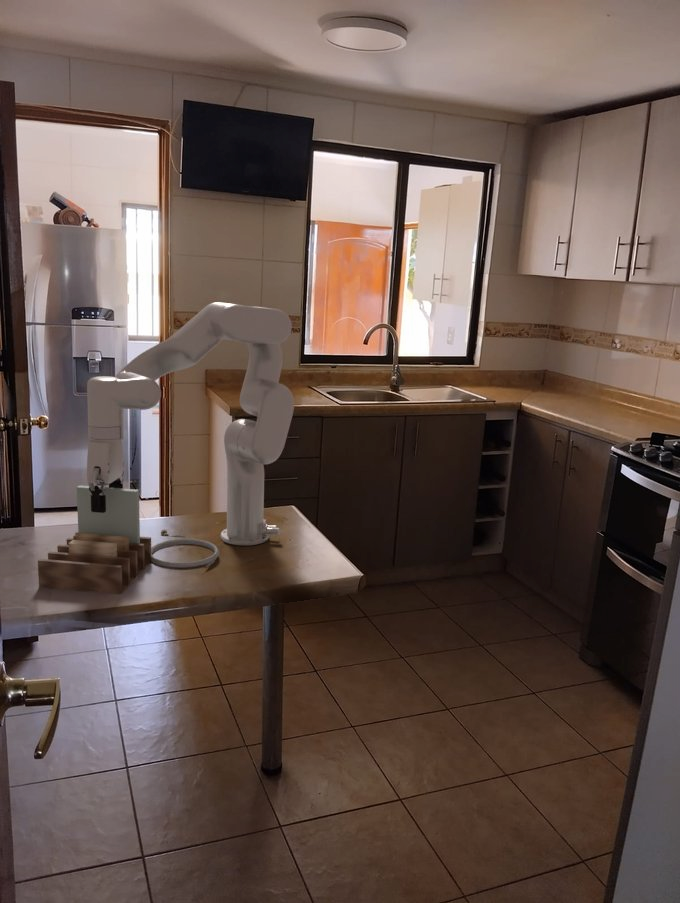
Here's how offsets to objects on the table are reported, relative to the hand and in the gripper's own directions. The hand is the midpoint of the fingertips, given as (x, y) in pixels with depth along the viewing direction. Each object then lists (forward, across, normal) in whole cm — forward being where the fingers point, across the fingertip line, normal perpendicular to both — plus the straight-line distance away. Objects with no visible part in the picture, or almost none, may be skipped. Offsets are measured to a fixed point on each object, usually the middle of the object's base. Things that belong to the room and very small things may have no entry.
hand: (107, 505), depth 169 cm
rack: (+15, +6, 0) cm, 16 cm away
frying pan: (+15, -13, +12) cm, 24 cm away
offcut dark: (+14, +4, 0) cm, 15 cm away
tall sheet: (+14, 0, 0) cm, 14 cm away
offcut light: (+14, +9, 0) cm, 16 cm away
